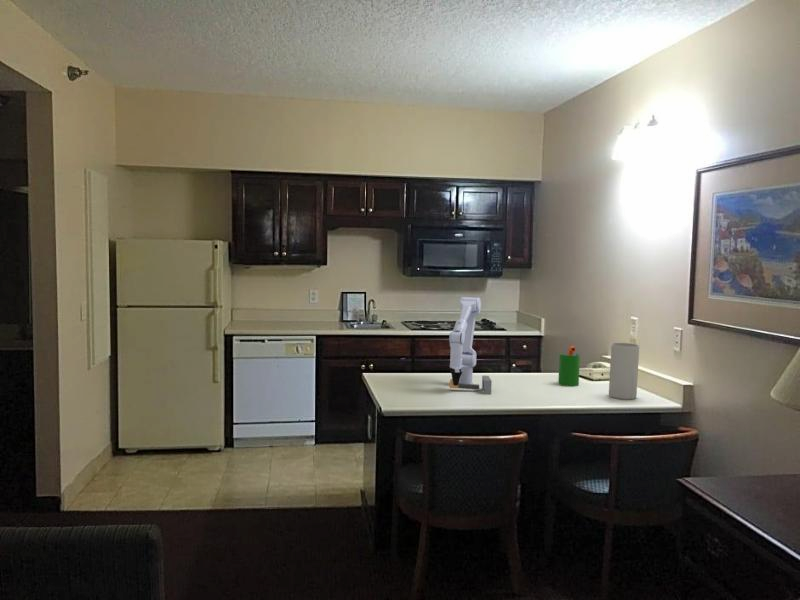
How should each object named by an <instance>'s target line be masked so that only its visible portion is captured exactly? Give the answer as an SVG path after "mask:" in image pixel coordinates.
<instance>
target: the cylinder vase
mask: <svg viewBox="0 0 800 600" xmlns="http://www.w3.org/2000/svg"><path fill="white" fill-rule="evenodd" d="M610 344H611V345H610V362H609V363H610V364H609V365H610V366H609V380H608V381H609V382H608V395H609V397H610V398H613V399H618V400H635V399H637V397H638V396H637V395H638V393H637V392H638V378H639V377H638V376H639V363H640V362H639V360H640V357H639V356H640V345H639V344H636V343H628V342H612V343H610Z"/></svg>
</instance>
